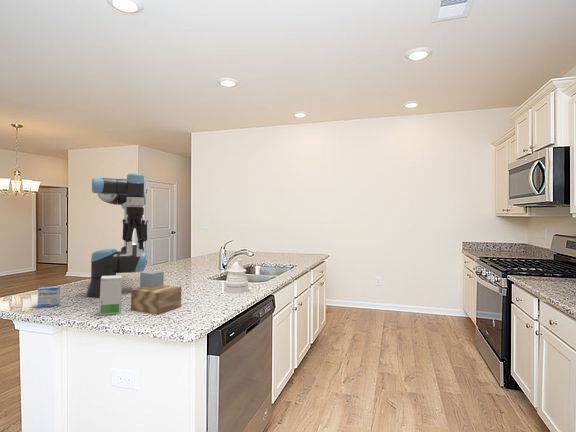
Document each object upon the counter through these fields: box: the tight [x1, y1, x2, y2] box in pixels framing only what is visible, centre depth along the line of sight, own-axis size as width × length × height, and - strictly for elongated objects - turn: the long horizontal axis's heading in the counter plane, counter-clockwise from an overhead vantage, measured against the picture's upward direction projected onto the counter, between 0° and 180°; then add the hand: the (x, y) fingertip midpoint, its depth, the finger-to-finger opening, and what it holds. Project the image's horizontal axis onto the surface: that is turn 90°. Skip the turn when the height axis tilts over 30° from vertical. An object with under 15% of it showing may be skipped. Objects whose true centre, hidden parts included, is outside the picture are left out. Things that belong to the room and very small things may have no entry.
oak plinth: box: [130, 284, 182, 315], centre depth 154 cm, size 16×14×9 cm
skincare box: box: [98, 275, 123, 316], centre depth 145 cm, size 8×7×16 cm
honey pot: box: [224, 258, 249, 295], centre depth 190 cm, size 13×13×18 cm
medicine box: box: [37, 285, 61, 309], centre depth 153 cm, size 8×4×9 cm, turn 118°
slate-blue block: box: [139, 270, 165, 290], centre depth 155 cm, size 7×7×7 cm
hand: (134, 255), depth 159 cm, fingers open, 6 cm apart
